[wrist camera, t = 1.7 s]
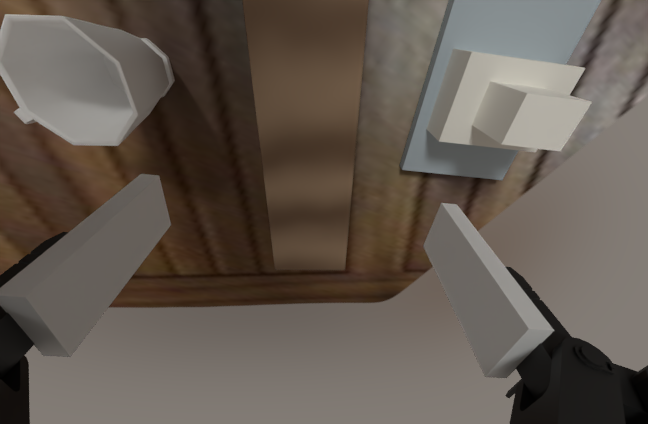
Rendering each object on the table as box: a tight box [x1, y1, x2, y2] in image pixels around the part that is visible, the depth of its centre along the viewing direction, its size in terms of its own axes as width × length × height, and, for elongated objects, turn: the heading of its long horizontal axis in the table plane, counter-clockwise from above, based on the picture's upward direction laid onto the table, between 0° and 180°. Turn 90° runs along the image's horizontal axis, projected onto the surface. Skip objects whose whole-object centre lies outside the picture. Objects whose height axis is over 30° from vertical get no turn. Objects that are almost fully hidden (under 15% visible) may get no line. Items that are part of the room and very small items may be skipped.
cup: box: [0, 14, 175, 146], centre depth 18 cm, size 7×10×8 cm
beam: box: [242, 0, 369, 270], centre depth 22 cm, size 26×7×6 cm, turn 179°
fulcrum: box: [400, 0, 601, 180], centre depth 20 cm, size 14×10×8 cm
